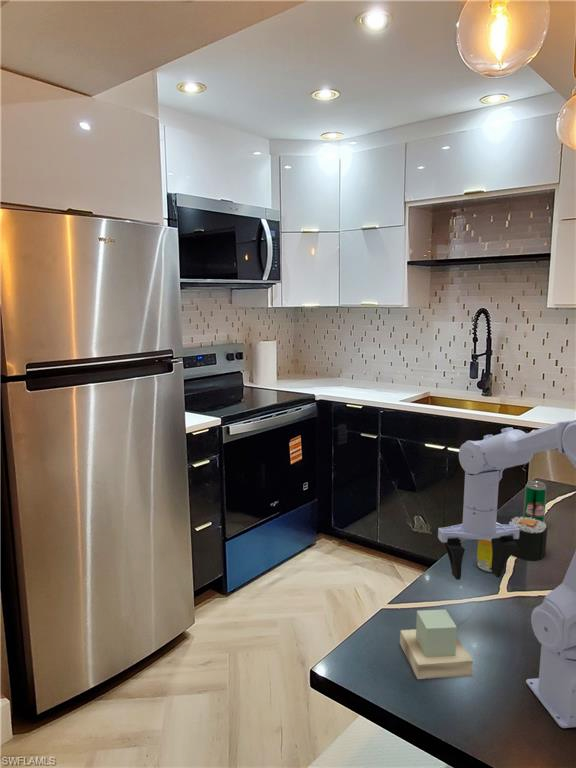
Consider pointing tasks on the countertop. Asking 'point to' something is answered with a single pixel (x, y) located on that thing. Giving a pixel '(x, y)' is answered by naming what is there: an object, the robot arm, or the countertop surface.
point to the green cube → (436, 633)
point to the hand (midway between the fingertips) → (476, 575)
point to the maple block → (434, 659)
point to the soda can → (535, 500)
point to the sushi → (530, 538)
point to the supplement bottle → (485, 554)
